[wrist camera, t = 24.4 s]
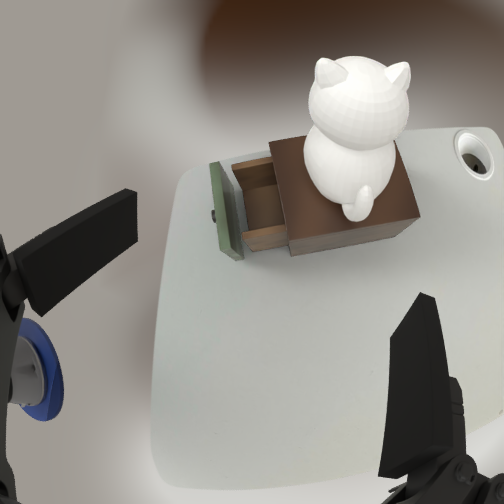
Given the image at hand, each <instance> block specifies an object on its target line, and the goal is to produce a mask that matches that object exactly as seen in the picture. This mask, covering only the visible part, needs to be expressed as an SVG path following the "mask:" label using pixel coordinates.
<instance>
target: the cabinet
mask: <svg viewBox="0 0 504 504" xmlns="http://www.w3.org/2000/svg"><path fill="white" fill-rule="evenodd" d="M306 137H307V135H306V136H300V137H294V138H288V139H283V140H277V141H272V142H269V147H270V152H271V156H272V161H273V165H274V170H275V175H276V180H277V184H278V189H279V194H280V199H281V204H282V209H283V214H284V219H285V224H286V230H287V235H288V241H289V248H290V253H291V257H292V256H297V255H303V254H308V253H313V252H319V251H324V250H330V249H335V248H340V247H345V246H351V245H356V244H361V243H367V242H372V241H377V240H382V239H387V238H392V237H395V236H396V235H398V234H399V233H400V232H402V231H403V230H404V229H406V228H407V227H408V226H410V225H411V224H412V223H413V222H415V221H416V220H417V219H419V218H420V213H419V210H418V206H417V203H416V200H415V196H414V193H413V190H412V187H411V184H410V181H409V178H408V175H407V172H406V169H405V167H404V164H403V161H402V158H401V156H400V153H399V151H398V148H397V145H396V143H395V140H393V142H394V144H395V152H396V157H395V166H394V169H393V171H392V174H391V177H390V179H389V182H388V184H387V185H386V187H385V188H384V190H383V191H382V192H381V193H380V194H379V195H378V196H377V197H376V198H375V199H374V202H373V206H372V209H371V211H370V213H369V215H368V216H367V217H366V218H365V219H364V220H362V221H358V222H356V221H351V220H349V219H347V217H346V216H345V214H344V212H343V209H342V204H339V203H335V202H333V201H331V200H329V199H327V198H326V197H325V196H324V195H322V194H321V193H320V191H319V190H318V189H317V188H316V186H315V185H314V183H313V181H312V179H311V177H310V175H309V173H308V170H307V168H306V165H305V160H304V144H305V140H306Z"/></svg>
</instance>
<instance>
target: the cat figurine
mask: <svg viewBox="0 0 504 504" xmlns="http://www.w3.org/2000/svg"><path fill="white" fill-rule="evenodd" d="M410 74H411V73H410V66H409V64H408V63H407V62H400V63H397V64H394V65H391V66H389V67H386V66H385V65H383V64H381V63H379V62H377V61H375V60H372V59H369V58H365V57H360V56H348V57H343V58H340V59H337V60H335V61H333V60H330V59H327V58H321V59H320V60H319V61H318V62H317V64H316V68H315V81H314V83H313V85H312V87H311V90H310V94H309V101H308V106H309V112H310V116H311V119H312V121H313V122H314V125H313V126H312V128H311V129H310V131H309V133H308V135H307V137H306V140H305V144H304V160H305V165H306V168H307V170H308V173H309V175H310V177H311V179H312V181H313V183H314V185H315V186H316V188H317V189H318V190H319V191H320V193H321V194H322V195H324V196H325V197H326V198H327V199H329V200H331V201H333V202H335V203H339V204H342V209H343V212H344V214H345V216H346V217H347V219H349V220H351V221H356V222H358V221H362V220H364V219H365V218H366V217H367V216H368V215H369V213H370V211H371V209H372V206H373V202H374V199H375V198H376V197H377V196H378V195H379V194H380V193H381V192H382V191H383V190H384V188H385V187H386V185H387V184H388V182H389V179H390V177H391V174H392V171H393V169H394V166H395V157H396V152H395V144H394V142H393V140H394V139H396V138H397V137H398V136H399V134H400V133H401V132H402V131H403V129H404V128H405V126H406V123H407V120H408V117H409V100H408V96H407V93H406V91H407V89H408V88H409V84H410V79H411V75H410Z"/></svg>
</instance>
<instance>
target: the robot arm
mask: <svg viewBox="0 0 504 504" xmlns="http://www.w3.org/2000/svg"><path fill="white" fill-rule="evenodd" d="M136 242H138V233H137V192H135V191H132V190H129V189H124V190H121V191H119V192H117V193H115V194H113V195H111V196H109V197H107V198H105V199H103V200H101V201H100V202H98V203H96V204H94V205H92V206H90V207H88V208H86V209H84V210H83V211H81V212H79V213H77V214H75V215H73V216H72V217H70V218H68V219H66V220H65V221H63V222H61V223H59V224H58V225H56V226H54V227H51V228H49V229H48V230H46V231H44V232H43V233H42V234H39V235H38V236H36V237H35V238H34V239H31V240H30V241H28V242H27V243H25V244H23V245H22V246H20V247H19V248H17V249H16V250H14V251H13V252H11V253H9V254H8V255H7V253H6V250H5V246H4V242H3V239H2V236H1V234H0V504H21V503H19V502H17V497H16V490H15V489H16V488H15V479H14V474H13V471H12V468H11V467H10V465H9V463H8V462H7V458H6V417H7V404H8V403H15V404H22V405H21V408H22V407H25V405H27V406H35V405H39V404H41V403H43V402H44V400H45V398H46V396H47V391H48V379H47V373H46V368H45V365H44V362H43V359H42V357H41V354H40V352H39V351H38V349H37V347H36V346H35V344H34V343H33V342H32V341H31V340H30V339H29V338H27V337H25V336H18V334H19V330H20V325H21V321H22V317H23V313H24V310H25V304H24V300H25V299H26V298H28V300H29V303H30V305H31V308H32V309H33V310H34V311H35V312H36V313H37V314H38V315H39V316H41V317H43V316H44V315H45V314H46V313H47V312H48V311H50V310H51V309H52V308H53V307H54V306H55V305H56V304H57V303H59V302H60V301H61V300H62V299H64V298H65V297H66V296H67V295H69V294H70V293H71V292H72V291H73V290H75V289H76V288H77V287H78V286H80V285H81V284H82V283H83V282H85V281H86V280H87V279H89V278H90V277H91V276H92V275H93V274H95V273H96V272H97V271H99V270H100V269H101V268H103V267H104V266H105V265H107V264H108V263H109V262H110V261H112V260H113V259H114V258H116V257H117V256H118V255H120V254H121V253H123V252H124V251H125V250H126V249H128V248H129V247H131V246H132V245H133V244H135V243H136ZM462 404H463V397H462V390H461V388H460V386H459V383H458V381H457V379H456V378H453V377H450V376H449V372H448V365H447V358H446V351H445V345H444V339H443V334H442V329H441V324H440V319H439V314H438V310H437V305H436V301H435V298H434V297H431V296H428V295H426V294H423V293H421V292H420V293H419V295H418V296H417V298H416V300H415V301H414V303H413V304H412V306H411V308H410V309H409V311H408V312H407V314H406V315H405V317H404V318H403V320H402V321H401V323H400V324H399V326H398V327H397V329H396V330H395V332H394V333H393V334H392V336H391V337H390V367H389V388H388V402H387V414H386V423H385V432H384V440H383V447H382V454H381V461H380V467H379V472H378V477H385V478H392V479H398V478H400V477H402V476H404V475H406V474H408V477H407V482H405V483H403V484H401V485H399V486H396V487H394V488H392V489H391V490H389V492H390V493H391V492H394V491H395V492H394V493H393V494H392V495H391V496H389V497H388V498H387V499H386V500H385V501H384V502H383V503H382V504H504V473H501V474H498V475H496V476H494V477H493V478H491V479H490V478H487V477H486V476H483V475H482V474H479V473H478V471H477V466H476V463H475V461H474V460H473V458H472V457H470V456H469V455H467V454H466V438H465V437H466V435H465V418H464V416H463V414H464V407H463V406H462Z"/></svg>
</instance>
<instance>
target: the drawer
mask: <svg viewBox="0 0 504 504" xmlns="http://www.w3.org/2000/svg"><path fill="white" fill-rule="evenodd" d="M209 165H210V174H211V183H212V191H213V200H214V208H215V210H212V219H213V222H214V223H216V224H217V232H218V239H219V247H220V250H221V251H222V252H224V253H225V254H226V255H228V256H229V257H231V258H232V259H233V260H235V261H238V260H243V259H244V255H243V248H242V241H241V235H240V228H239V221H238V215H237V208H236V201H235V195H234V188H233V185H232V183H231V182H230V180H229V178H228V176H227V175H226V173H225V171H224V169H223V167H222V166H221V164H220V162H219V161H218V162H214V163H210V164H209ZM231 166H232V171H233V173H234V175H235V177H236V179H237V181H238V183H239V185H240V187H241V189H242V191H243V197H244V203H245V210H246V216H247V222H248V229H249V231H247V232H242V239H243V241H244V242H245V243H246V244H247V245H248V246H249V248H250V249H251V250H252V251H253V252H255V251H260V250H266V249H271V248H276V247H282V246H287V245H289V241H288V235H287V230H286V224H285V219H284V214H283V209H282V204H281V199H280V194H279V189H278V184H277V180H276V175H275V170H274V165H273V161H272V156H271V157H266V158H261V159H256V160H251V161H246V162H242V163H237V164H233V165H231Z"/></svg>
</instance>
